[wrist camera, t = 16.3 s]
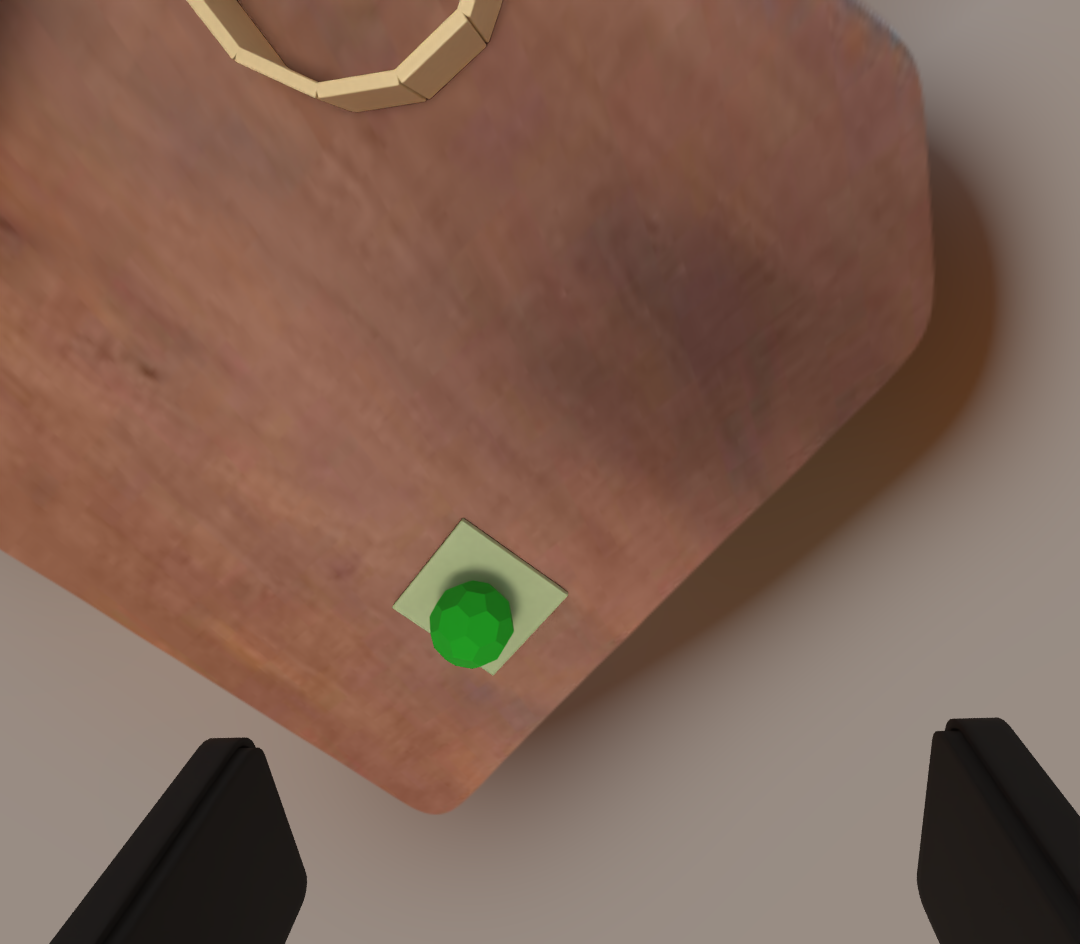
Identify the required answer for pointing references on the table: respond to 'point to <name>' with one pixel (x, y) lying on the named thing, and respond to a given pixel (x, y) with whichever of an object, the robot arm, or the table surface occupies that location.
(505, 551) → the mat
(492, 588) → the polyhedron
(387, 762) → the table surface
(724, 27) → the table surface
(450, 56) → the hollow cylinder
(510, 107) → the table surface
